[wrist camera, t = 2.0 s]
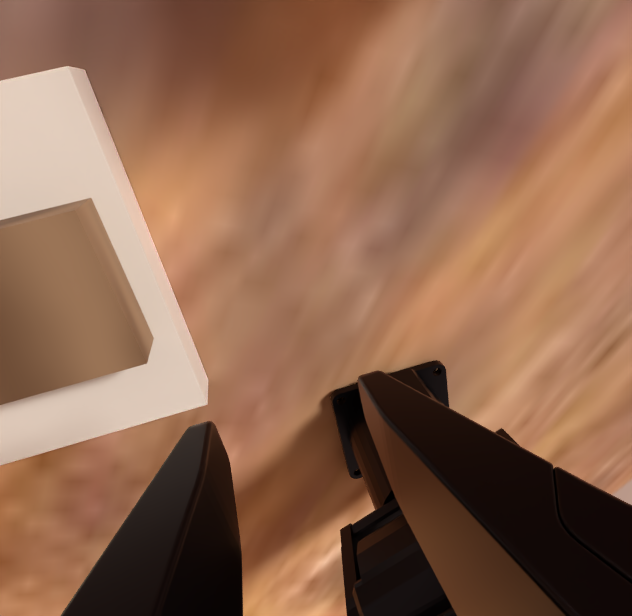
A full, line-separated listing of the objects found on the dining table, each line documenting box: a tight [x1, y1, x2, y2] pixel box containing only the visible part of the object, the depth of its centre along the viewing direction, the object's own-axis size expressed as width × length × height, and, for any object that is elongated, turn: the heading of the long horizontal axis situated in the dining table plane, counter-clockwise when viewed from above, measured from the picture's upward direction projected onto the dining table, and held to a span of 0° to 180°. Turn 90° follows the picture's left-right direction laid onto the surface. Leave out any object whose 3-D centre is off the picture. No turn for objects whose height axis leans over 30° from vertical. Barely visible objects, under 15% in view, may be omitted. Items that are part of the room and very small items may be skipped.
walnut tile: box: [0, 198, 154, 405], centre depth 16 cm, size 8×6×2 cm
